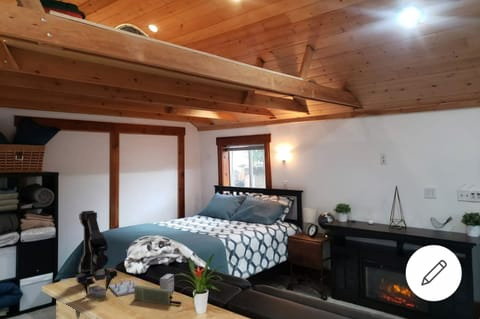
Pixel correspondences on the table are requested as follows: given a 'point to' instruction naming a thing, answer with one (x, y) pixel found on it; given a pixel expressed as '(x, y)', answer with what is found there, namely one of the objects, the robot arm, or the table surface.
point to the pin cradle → (123, 287)
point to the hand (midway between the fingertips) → (96, 292)
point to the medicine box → (167, 282)
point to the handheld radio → (154, 295)
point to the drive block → (97, 291)
